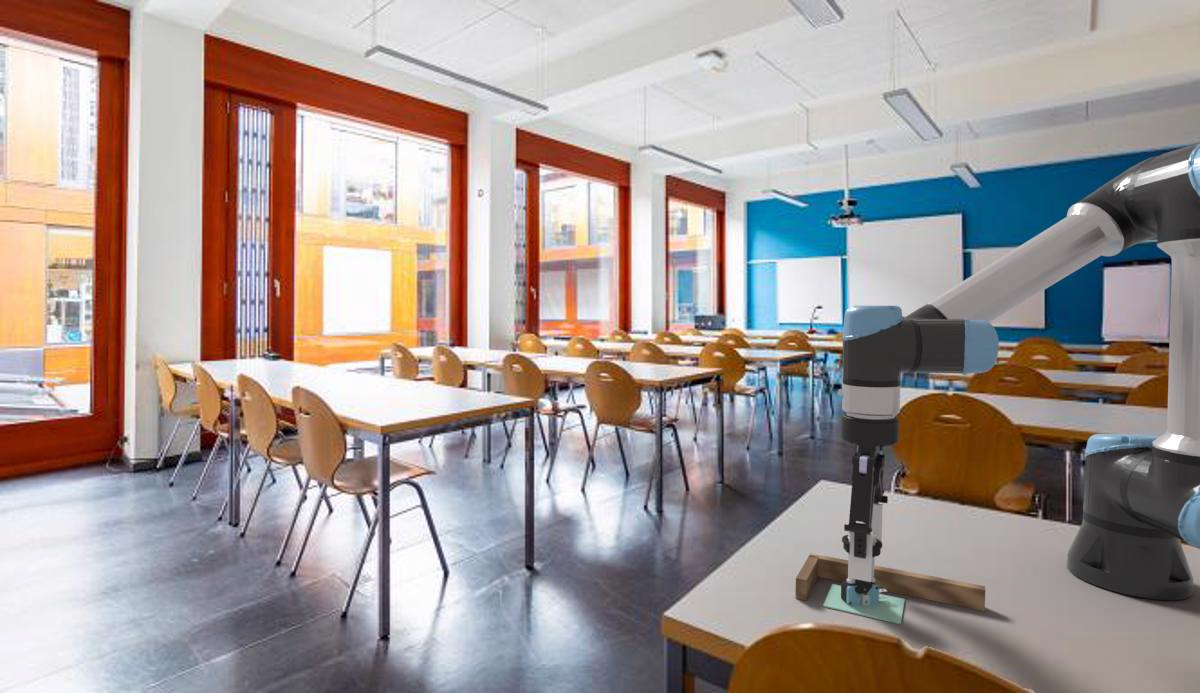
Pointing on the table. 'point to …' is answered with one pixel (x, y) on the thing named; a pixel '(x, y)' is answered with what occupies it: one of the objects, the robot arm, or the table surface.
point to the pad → (884, 610)
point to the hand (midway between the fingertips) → (866, 561)
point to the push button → (859, 589)
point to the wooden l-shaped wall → (892, 582)
